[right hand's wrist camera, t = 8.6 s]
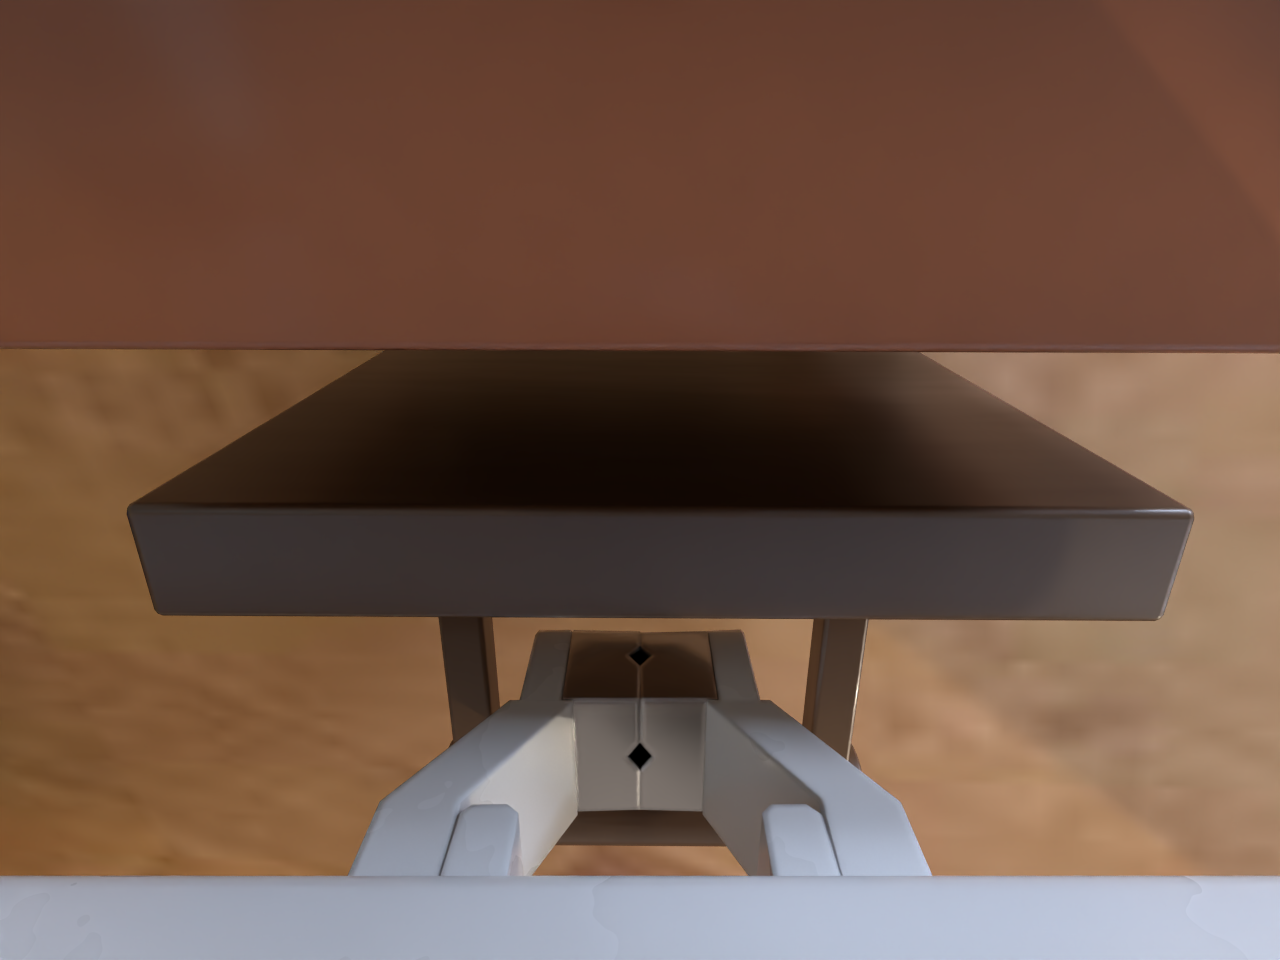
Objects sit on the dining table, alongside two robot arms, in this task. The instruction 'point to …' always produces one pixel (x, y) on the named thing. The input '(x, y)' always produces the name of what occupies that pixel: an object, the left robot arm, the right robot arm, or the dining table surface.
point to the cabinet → (641, 175)
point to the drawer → (658, 512)
